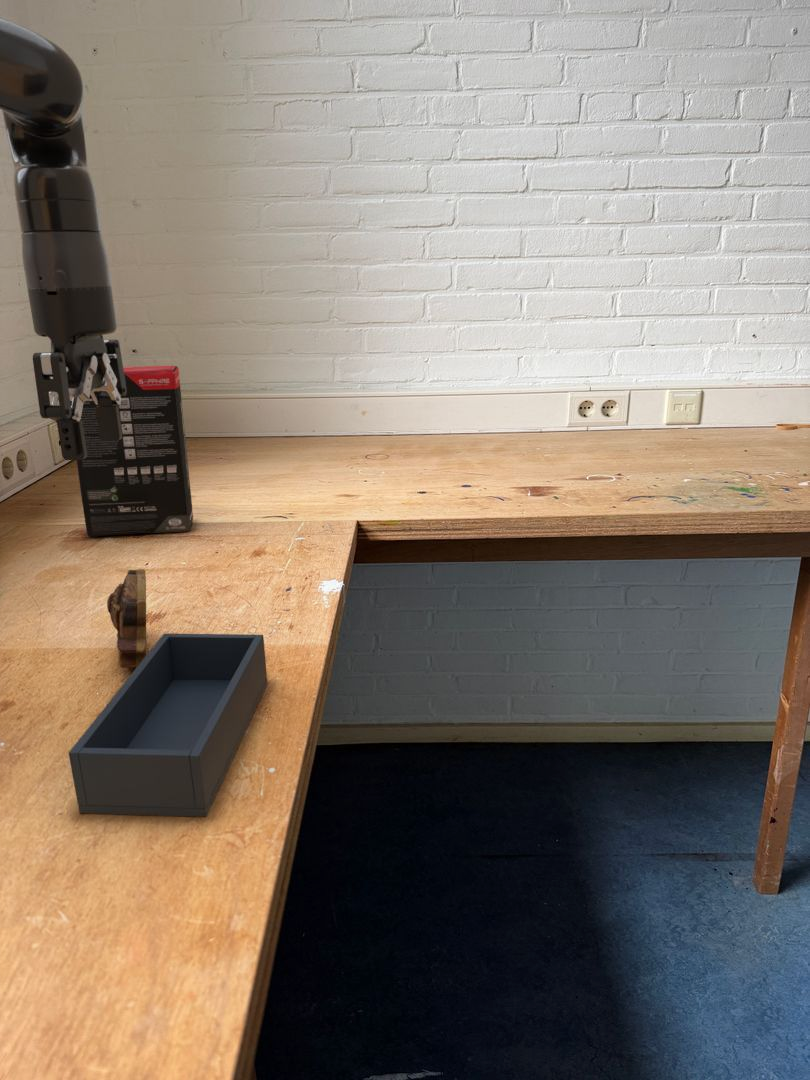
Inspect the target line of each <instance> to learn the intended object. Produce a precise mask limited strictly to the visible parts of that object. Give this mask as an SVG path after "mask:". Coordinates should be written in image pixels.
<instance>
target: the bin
mask: <svg viewBox="0 0 810 1080" xmlns="http://www.w3.org/2000/svg"><path fill="white" fill-rule="evenodd" d="M146 654H147V655H146V657H145V658H144V659H143V660H142V662H141V663H140V664H139V665H138V667H135V669H134V670H133V672H132V673H131V674H130V675H129V677H128V678H127V679H126V680H125V682H123V684H122V685H121V687H120V688H118V690H117V691H116V693H115V694H114V695H113V696H112V698H111V699H110V700H109V702H108V703H107V704H106V705H105V707H104V708H103V709H102V710H101V711H100V712H99V714H97V716H96V718H95V719H94V720H93V722H92V723H91V724H90V725H89V726H88V728H87V729H86V730H85V731H84V732H83V734H82V735H81V736H80V738H79V739H78V740H77V741H76V742H75V744H74V745H73V746H72V748H71V749H70V750H69V751H68V758H69V763H70V764H69V765H70V768H71V774H72V780H73V785H74V790H75V791H74V792H75V796H76V802H77V806H78V807H77V808H78V812H79V814H91V815H93V814H94V815H123V816H124V815H127V816H128V815H129V816H160V817H161V816H163V817H164V816H166V817H168V816H169V817H195V818H201V817H202V818H206V817H207V816H208V815H209V812H210V810H211V807H212V805H213V803H214V802H215V799H216V797H217V795H218V792H219V790H220V788H221V786H222V784H223V782H224V779H225V778H226V775H227V773H228V771H229V768H230V766H231V764H232V762H233V760H234V758H235V756H236V753H237V751H238V750H239V747H240V744H241V743H242V740H243V738H244V736H245V733H246V731H247V730H248V727H249V725H250V723H251V721H252V719H253V716H254V714H255V712H256V709H257V707H258V705H259V703H260V701H261V699H262V697H263V694H264V692H265V690H266V688H267V686H268V674H267V662H266V661H267V659H266V650H265V639H264V634H248V633H247V634H241V633H240V634H238V633H237V634H235V633H224V634H223V633H163V634H162V635H161V636H160V638H159V639H158V640H157V642H155V644H154V645H153V647H152V648H151V649H150V650H149V652H148V653H146Z"/></svg>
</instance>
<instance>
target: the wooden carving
mask: <svg viewBox="0 0 810 1080" xmlns="http://www.w3.org/2000/svg"><path fill="white" fill-rule="evenodd" d="M106 608H107V612H108V613H109V617H110V620H111V622H112V623H111V624H112V626H113V627H114V629H116V631H117V634H116V637H117V640H116V647H117V650H118V664H119V667H120V668H122V669H123V668H124V669H125V668H137V667H138V665H139V664H140V663H141V662H142V660H143V659H144V658H145V657H146V655H147V654H148V653H147V574H146V569H145V568H138V569H130V570H128V571H127V574H126V575H125V577H124V580H123V583H119V584H118V585H117V586H116V587H115V589H114V591H113V592H112V593H110V595H109V596H108V598H107V601H106Z"/></svg>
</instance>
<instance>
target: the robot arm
mask: <svg viewBox="0 0 810 1080" xmlns="http://www.w3.org/2000/svg"><path fill="white" fill-rule="evenodd" d="M84 100H85V85H84V79H83V76H82V74H81V72H80V69H79V68H78V66H77V64H76V63H75V61H74V60H73V58H72V57H71V56H70V55H69V54H68V53H67V52H66V51H65V50H64V49H63V48H62V47H61V46H60V45H58V44H56V43H55V42H54V41H52V40H50V39H48V38H47V37H45V36H43V35H42V34H39V33H38V32H35V31H33V30H31V29H29V28H28V27H25V26H22V25H21V24H20V25H19V24H18V23H15V22H12V21H9V20H7V19H4V18H1V17H0V110H1V112H2V117H3V121H4V126H5V132H6V136H7V142H8V145H9V150H10V154H11V158H12V159H11V160H12V164H13V171H14V172H13V187H14V189H13V190H14V197H15V205H16V211H17V218H18V224H19V229H20V232H21V234H20V236H21V253H22V257H21V258H22V264H23V265H22V266H23V271H24V277H25V284H26V288H27V294H28V300H29V307H30V313H31V320H32V324H33V326H32V327H33V330H34V333H35V334H36V335H37V336H39V337H43V338H48V339H49V340H50V351H43V352H33V354H32V364H33V372H34V381H35V386H36V393H37V401H38V408H39V415H40V417H41V418H42V419H49V420H51V421H53V422H55V423H56V426H57V427H56V428H57V432H58V439H59V444H60V445H59V446H60V451H61V452H60V453H61V456H62V458H63V459H64V460H66V461H77V460H82V459H84V458H86V457H87V449H86V442H85V436H84V429H83V423H82V421H80V420H81V415H82V409H83V403H84V402H85V401H87V400H88V399H89V397H90V395H91V397H92V398H93V400H94V402H95V404H96V405H100V406H96V407H95V409H96V415H97V422H98V429H99V436H100V439H101V440H102V441H118V440H120V439H121V438H122V430H121V423H120V416H119V408H118V406H117V405H119V404H120V403H121V397H120V396H125V395H126V393H127V389H126V382H125V376H124V370H123V367H124V364H123V358H122V351H121V344H120V341H119V339H104V335H110V334H113V333H115V332H116V330H117V329H118V327H117V326H118V325H117V318H116V313H115V311H116V310H115V304H114V303H115V302H114V297H113V289H112V282H111V274H110V266H109V260H108V255H107V250H106V247H105V244H104V239H103V235H102V233H101V232H102V228H101V227H102V226H101V219H100V212H99V205H98V199H97V192H96V188H95V184H94V180H93V178H92V174H91V173H90V171H89V167H88V166H89V165H88V155H87V145H86V136H85V127H84V115H83V114H84V113H83V105H84ZM114 374H115V375H114ZM115 376H116V377H115ZM116 383H117V385H116ZM50 396H51V397H52V402H51V399H50ZM70 401H72V407H71V404H70Z"/></svg>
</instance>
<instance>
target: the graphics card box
mask: <svg viewBox="0 0 810 1080" xmlns="http://www.w3.org/2000/svg"><path fill="white" fill-rule="evenodd" d="M123 370H124V376H125V382H126V389H127V393H126V395H125V396H120V397H121V403H120V404H119V405H117V406H118V408H119V416H120V423H121V430H122V438H121V439H120V440H118V441H102V440H101V439H100V436H99V429H98V422H97V415H96V409H95V407H96V406H100V405H96V404H95V402H94V400H93V398H92V397H91V395H90V397H89V399H88V400H87V401H85V402H84V403H83V409H82V415H81V420H80V421H82V423H83V429H84V436H85V442H86V449H87V457H86V458H84V459H82V460H76V466H77V474H78V482H79V490H80V496H81V504H82V510H83V517H84V525H85V531H86V536H87V537H102V536H121V535H123V536H124V535H141V534H161V533H164V534H165V533H180V532H181V533H184V532H189V531H191V528H192V526H193V525H192V524H193V521H194V512H193V502H192V501H193V500H192V489H191V481H190V471H189V463H188V451H187V441H186V432H185V421H184V410H183V400H182V392H181V391H182V390H181V379H180V371H179V370H180V369H179V367H178V366H177V365H163V366H162V365H155V366H153V365H152V366H151V365H150V366H123ZM114 375H115V374H114ZM115 377H116V376H115ZM116 385H117V383H116ZM70 404H71V407H72V401H70Z"/></svg>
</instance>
